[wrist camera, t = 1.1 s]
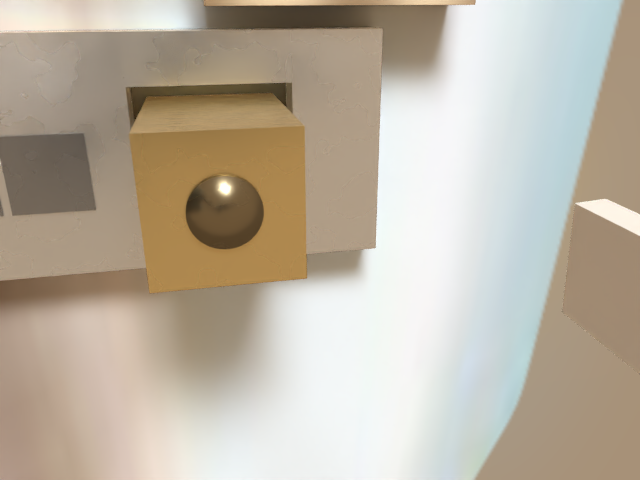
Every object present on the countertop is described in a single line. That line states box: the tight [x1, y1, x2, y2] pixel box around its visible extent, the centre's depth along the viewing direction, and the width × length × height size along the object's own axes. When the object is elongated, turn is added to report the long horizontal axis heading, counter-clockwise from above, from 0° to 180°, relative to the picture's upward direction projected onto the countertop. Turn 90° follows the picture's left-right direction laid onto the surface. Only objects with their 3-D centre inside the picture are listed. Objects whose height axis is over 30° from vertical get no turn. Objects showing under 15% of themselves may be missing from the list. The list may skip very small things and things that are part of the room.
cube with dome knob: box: [129, 93, 307, 293], centre depth 25 cm, size 6×6×9 cm
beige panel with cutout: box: [0, 27, 383, 281], centre depth 27 cm, size 22×11×2 cm, turn 91°
